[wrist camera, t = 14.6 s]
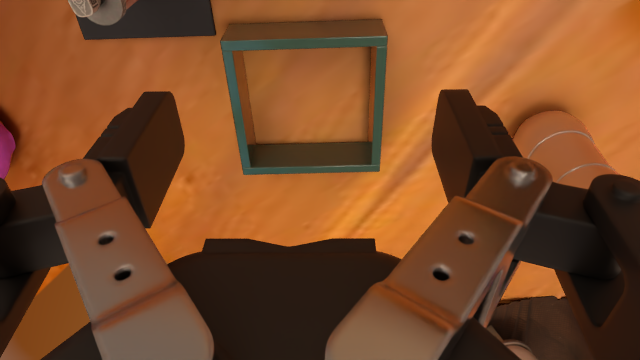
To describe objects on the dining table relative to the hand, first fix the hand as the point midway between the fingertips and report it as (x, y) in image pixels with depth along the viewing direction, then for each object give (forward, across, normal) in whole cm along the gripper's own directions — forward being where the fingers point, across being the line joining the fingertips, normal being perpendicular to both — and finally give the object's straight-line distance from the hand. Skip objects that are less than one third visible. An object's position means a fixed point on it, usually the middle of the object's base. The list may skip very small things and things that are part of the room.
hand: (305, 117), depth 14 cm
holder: (+25, +1, +12) cm, 27 cm away
